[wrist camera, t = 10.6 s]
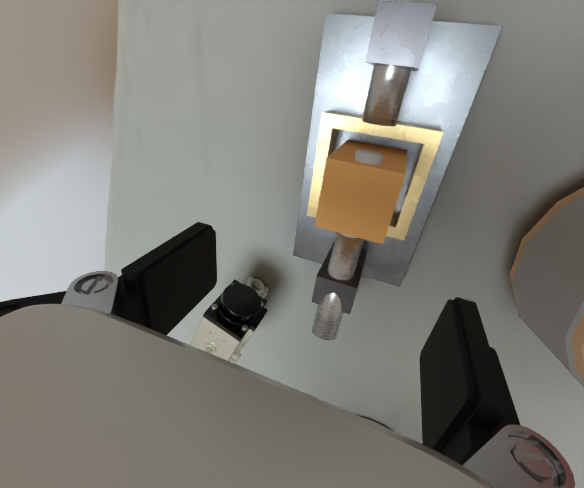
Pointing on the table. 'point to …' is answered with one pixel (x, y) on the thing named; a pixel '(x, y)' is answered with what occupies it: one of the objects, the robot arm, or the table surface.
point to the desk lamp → (555, 281)
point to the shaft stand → (385, 133)
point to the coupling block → (361, 189)
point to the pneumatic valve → (231, 319)
